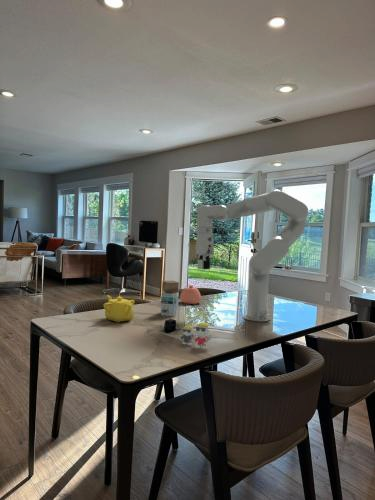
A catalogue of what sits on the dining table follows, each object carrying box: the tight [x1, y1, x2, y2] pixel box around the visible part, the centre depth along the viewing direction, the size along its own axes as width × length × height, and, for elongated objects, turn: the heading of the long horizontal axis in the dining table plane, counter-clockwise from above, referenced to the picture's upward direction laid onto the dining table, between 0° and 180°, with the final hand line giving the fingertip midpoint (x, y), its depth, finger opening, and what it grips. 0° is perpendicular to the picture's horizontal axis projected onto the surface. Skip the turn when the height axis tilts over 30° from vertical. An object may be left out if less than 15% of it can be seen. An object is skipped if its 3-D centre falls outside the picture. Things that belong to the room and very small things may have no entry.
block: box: [161, 280, 180, 293], centre depth 175 cm, size 6×6×5 cm
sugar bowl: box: [179, 284, 202, 305], centre depth 204 cm, size 12×14×10 cm
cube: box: [196, 259, 208, 271], centre depth 175 cm, size 4×4×4 cm
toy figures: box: [180, 322, 213, 350], centre depth 128 cm, size 12×4×8 cm, turn 56°
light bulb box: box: [160, 290, 180, 317], centre depth 175 cm, size 11×7×11 cm, turn 171°
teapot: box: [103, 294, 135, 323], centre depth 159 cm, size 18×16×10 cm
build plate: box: [158, 318, 182, 335], centre depth 146 cm, size 12×7×5 cm, turn 144°
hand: (203, 268), depth 175 cm, fingers closed on cube, 4 cm apart
